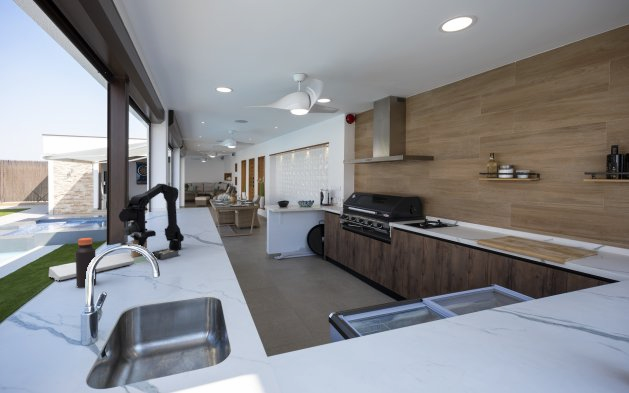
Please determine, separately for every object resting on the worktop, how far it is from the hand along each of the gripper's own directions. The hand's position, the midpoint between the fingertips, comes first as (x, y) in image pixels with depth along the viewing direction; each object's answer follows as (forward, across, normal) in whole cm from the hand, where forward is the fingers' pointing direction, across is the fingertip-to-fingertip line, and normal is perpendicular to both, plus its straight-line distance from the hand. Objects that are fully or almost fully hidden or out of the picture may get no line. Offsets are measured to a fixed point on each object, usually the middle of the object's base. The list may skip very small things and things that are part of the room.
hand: (139, 248), depth 171 cm
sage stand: (+8, 0, 0) cm, 8 cm away
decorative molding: (+8, -4, -20) cm, 22 cm away
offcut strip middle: (+7, +3, +13) cm, 15 cm away
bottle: (+8, +14, -34) cm, 38 cm away
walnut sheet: (+5, 0, 0) cm, 5 cm away
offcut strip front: (+7, +6, +13) cm, 16 cm away
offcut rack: (+8, +3, +13) cm, 15 cm away
